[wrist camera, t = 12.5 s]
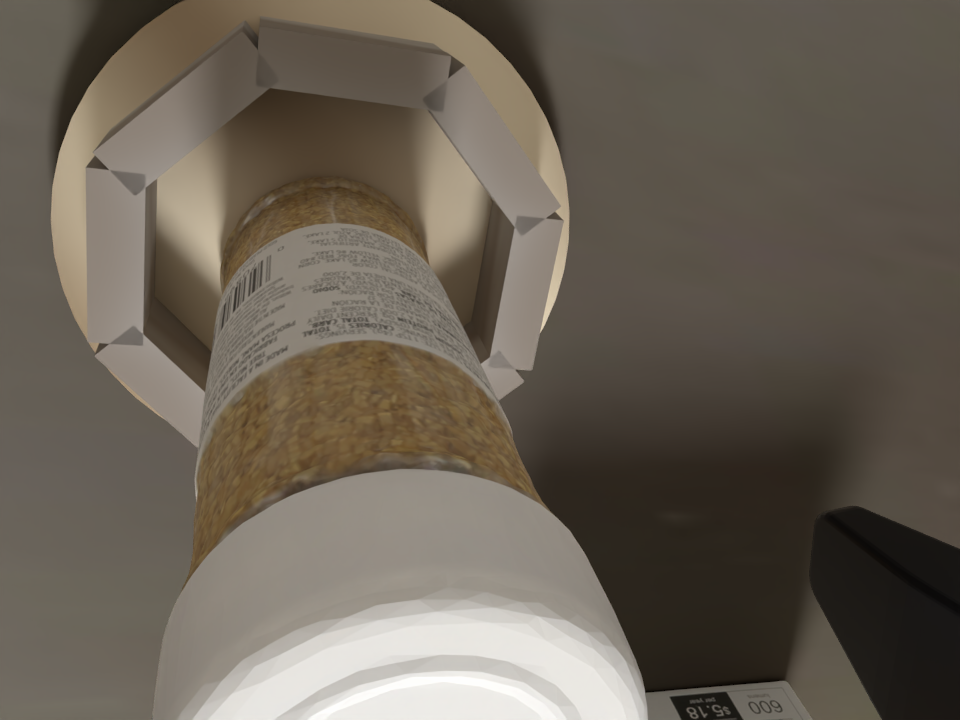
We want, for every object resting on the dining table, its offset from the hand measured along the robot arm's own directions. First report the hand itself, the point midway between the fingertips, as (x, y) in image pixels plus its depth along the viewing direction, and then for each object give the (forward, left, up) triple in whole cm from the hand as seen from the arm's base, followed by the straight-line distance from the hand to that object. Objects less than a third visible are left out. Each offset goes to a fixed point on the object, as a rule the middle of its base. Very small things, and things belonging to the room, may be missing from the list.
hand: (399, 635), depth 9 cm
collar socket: (0, 0, -13) cm, 13 cm away
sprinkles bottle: (0, 0, -12) cm, 12 cm away
